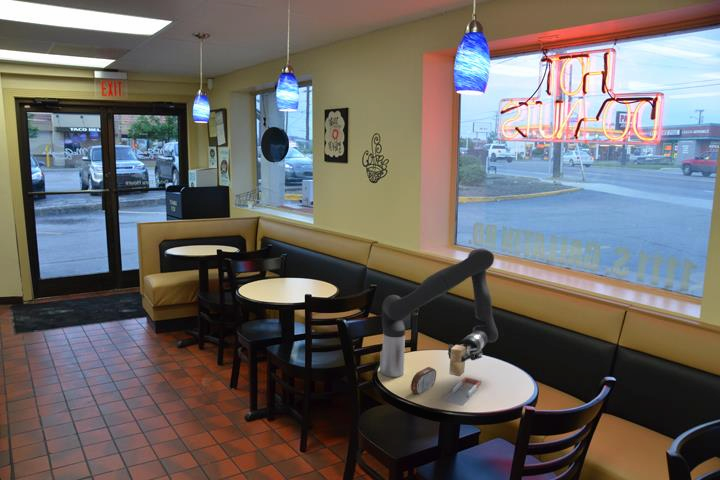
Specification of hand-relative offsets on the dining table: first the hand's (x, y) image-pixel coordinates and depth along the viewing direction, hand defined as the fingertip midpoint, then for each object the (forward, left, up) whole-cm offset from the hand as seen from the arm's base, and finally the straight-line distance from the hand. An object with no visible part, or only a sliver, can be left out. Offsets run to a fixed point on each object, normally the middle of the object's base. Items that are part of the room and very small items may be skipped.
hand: (456, 358), depth 202 cm
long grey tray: (0, +10, -18) cm, 20 cm away
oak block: (0, +2, -6) cm, 7 cm away
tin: (-14, +4, -18) cm, 23 cm away
